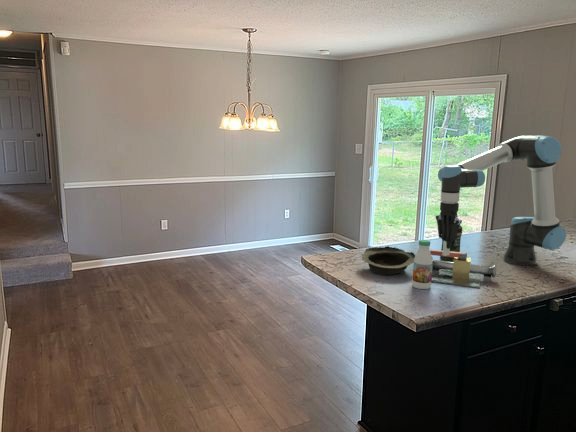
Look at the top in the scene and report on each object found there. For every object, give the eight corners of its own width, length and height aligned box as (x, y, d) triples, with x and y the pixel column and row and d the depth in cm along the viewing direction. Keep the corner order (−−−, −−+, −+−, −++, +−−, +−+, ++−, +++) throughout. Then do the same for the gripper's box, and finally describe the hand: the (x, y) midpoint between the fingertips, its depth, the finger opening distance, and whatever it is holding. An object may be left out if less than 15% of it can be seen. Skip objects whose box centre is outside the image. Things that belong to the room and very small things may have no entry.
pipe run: (493, 275, 214) (495, 257, 213) (495, 290, 194) (497, 270, 193) (421, 266, 226) (423, 249, 224) (416, 280, 206) (417, 261, 204)
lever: (466, 257, 211) (466, 252, 210) (466, 260, 207) (467, 254, 207) (429, 254, 216) (430, 249, 215) (429, 256, 212) (430, 250, 212)
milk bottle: (409, 283, 201) (412, 238, 197) (426, 283, 202) (430, 238, 198) (415, 289, 193) (419, 243, 190) (433, 289, 194) (437, 243, 190)
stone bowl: (399, 261, 233) (401, 244, 231) (423, 281, 210) (426, 262, 207) (352, 263, 228) (354, 245, 226) (372, 283, 204) (374, 263, 202)
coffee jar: (450, 263, 232) (453, 227, 229) (437, 259, 239) (440, 224, 235) (462, 260, 237) (465, 225, 234) (449, 257, 244) (452, 222, 240)
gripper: (468, 203, 196) (463, 257, 201) (444, 199, 207) (440, 250, 212) (455, 204, 192) (451, 259, 197) (431, 200, 204) (428, 252, 208)
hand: (445, 255), depth 204 cm, fingers closed
